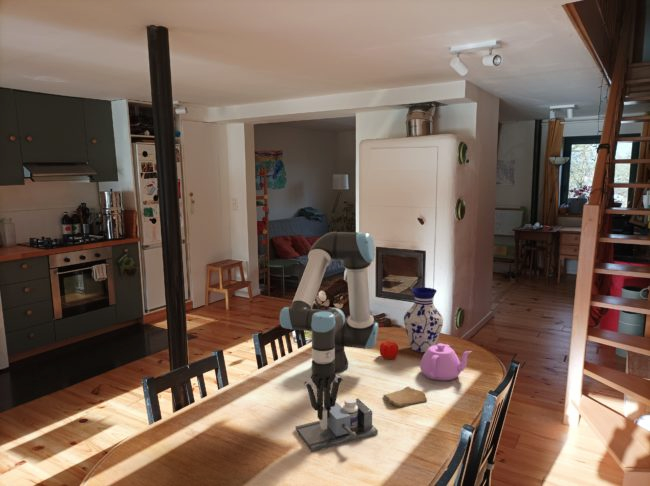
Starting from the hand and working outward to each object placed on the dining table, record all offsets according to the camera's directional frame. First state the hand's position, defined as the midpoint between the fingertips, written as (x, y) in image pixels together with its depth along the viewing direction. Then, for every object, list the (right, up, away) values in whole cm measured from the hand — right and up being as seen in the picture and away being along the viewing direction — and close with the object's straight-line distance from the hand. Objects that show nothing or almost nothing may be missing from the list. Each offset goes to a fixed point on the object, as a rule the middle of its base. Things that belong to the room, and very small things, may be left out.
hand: (323, 427), depth 156 cm
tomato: (+31, +7, +66) cm, 74 cm away
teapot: (+52, +4, +46) cm, 70 cm away
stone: (+31, 0, +26) cm, 40 cm away
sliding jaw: (+6, -1, -1) cm, 6 cm away
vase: (+49, +8, +77) cm, 92 cm away
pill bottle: (+9, -1, +4) cm, 10 cm away
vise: (+4, -3, +2) cm, 6 cm away
